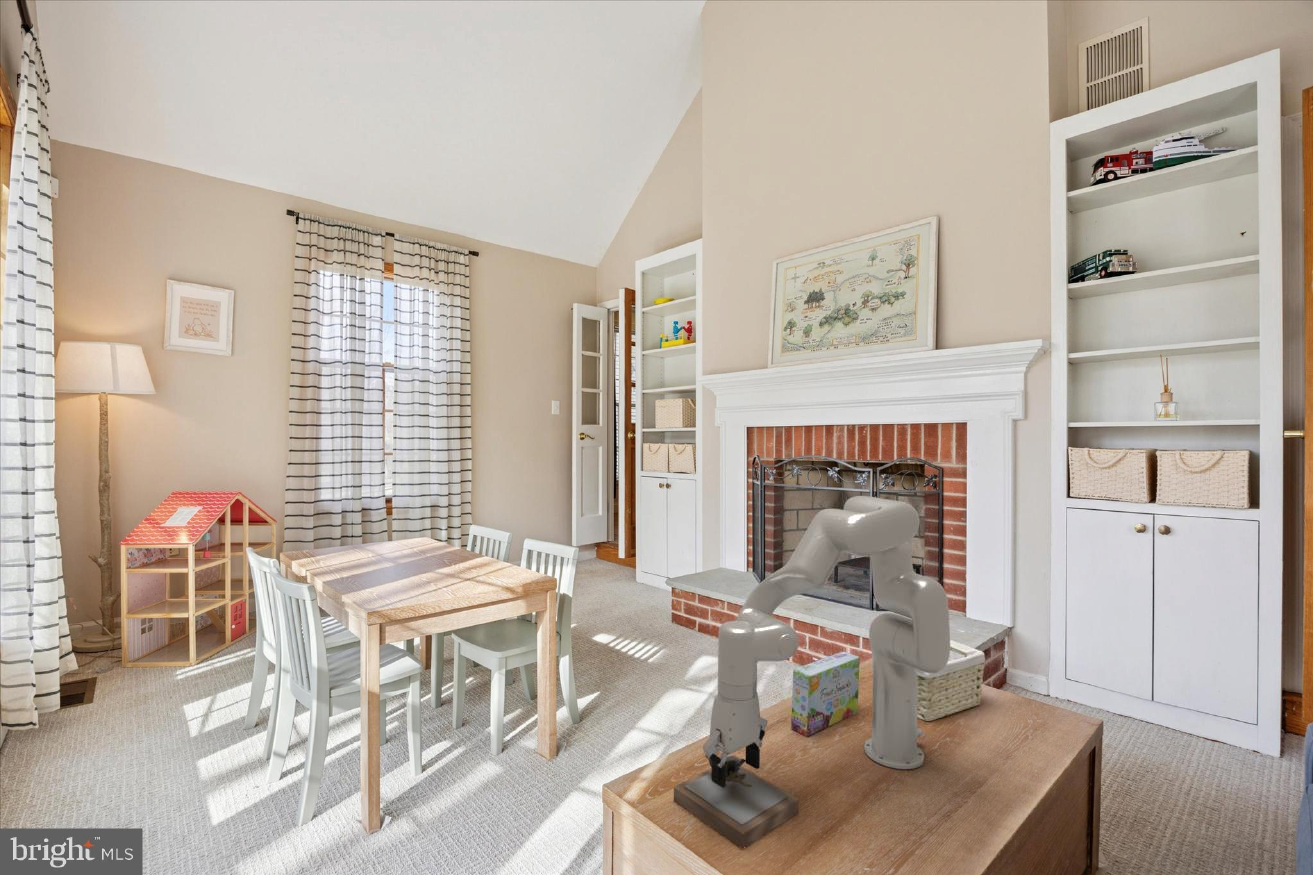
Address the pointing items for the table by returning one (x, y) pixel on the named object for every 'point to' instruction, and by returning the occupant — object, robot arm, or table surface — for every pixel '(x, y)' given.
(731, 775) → the eagle figurine
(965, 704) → the storage basket
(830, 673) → the snack box
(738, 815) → the picture frame
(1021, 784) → the table surface
